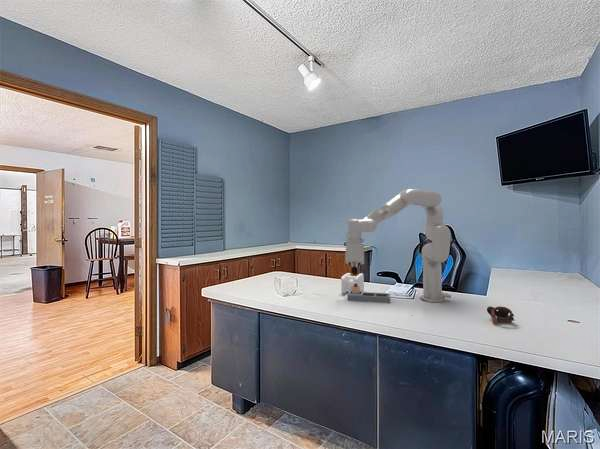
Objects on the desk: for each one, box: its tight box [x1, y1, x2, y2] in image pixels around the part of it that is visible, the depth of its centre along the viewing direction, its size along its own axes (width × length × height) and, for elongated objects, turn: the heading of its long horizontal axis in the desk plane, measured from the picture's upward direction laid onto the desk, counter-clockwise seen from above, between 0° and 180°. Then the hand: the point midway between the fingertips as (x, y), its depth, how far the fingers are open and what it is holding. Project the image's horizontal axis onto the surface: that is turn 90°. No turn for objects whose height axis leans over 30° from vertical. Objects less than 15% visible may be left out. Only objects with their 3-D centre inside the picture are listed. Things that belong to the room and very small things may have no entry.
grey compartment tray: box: [346, 290, 391, 304], centre depth 173 cm, size 22×8×5 cm, turn 73°
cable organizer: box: [340, 272, 365, 295], centre depth 193 cm, size 15×11×12 cm
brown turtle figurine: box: [486, 305, 515, 325], centre depth 138 cm, size 12×10×8 cm
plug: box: [352, 284, 360, 294], centre depth 174 cm, size 4×4×8 cm
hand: (354, 274), depth 174 cm, fingers closed
